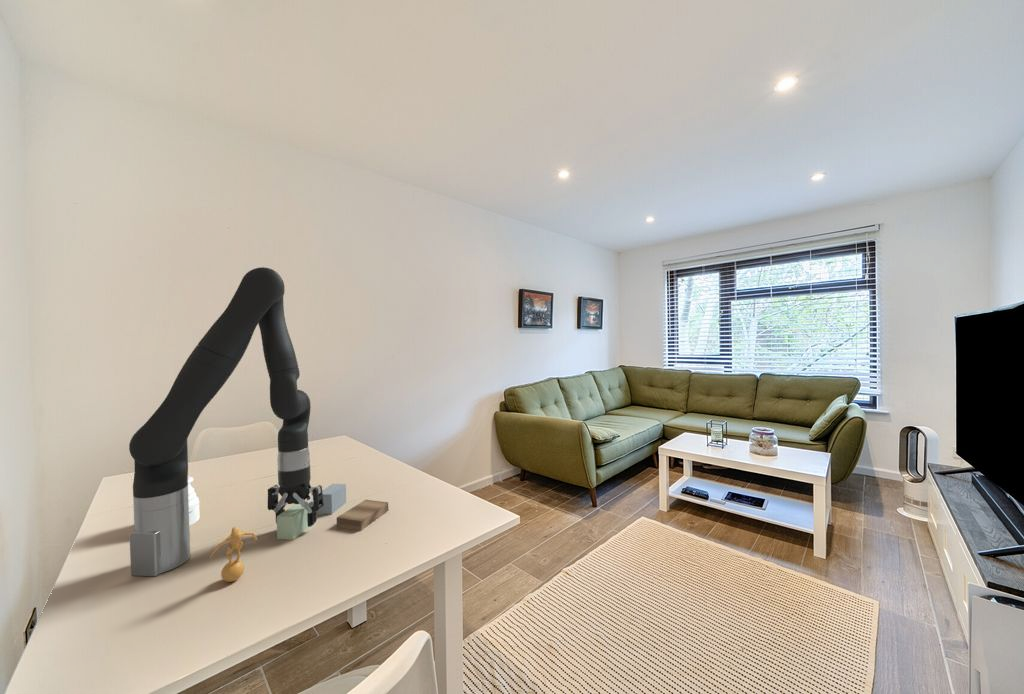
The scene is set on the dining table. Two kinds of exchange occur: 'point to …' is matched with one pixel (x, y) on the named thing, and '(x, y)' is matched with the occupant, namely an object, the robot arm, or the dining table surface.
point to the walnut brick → (362, 515)
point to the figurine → (233, 567)
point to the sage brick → (292, 522)
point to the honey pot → (193, 503)
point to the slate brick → (333, 498)
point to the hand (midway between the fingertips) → (296, 524)
